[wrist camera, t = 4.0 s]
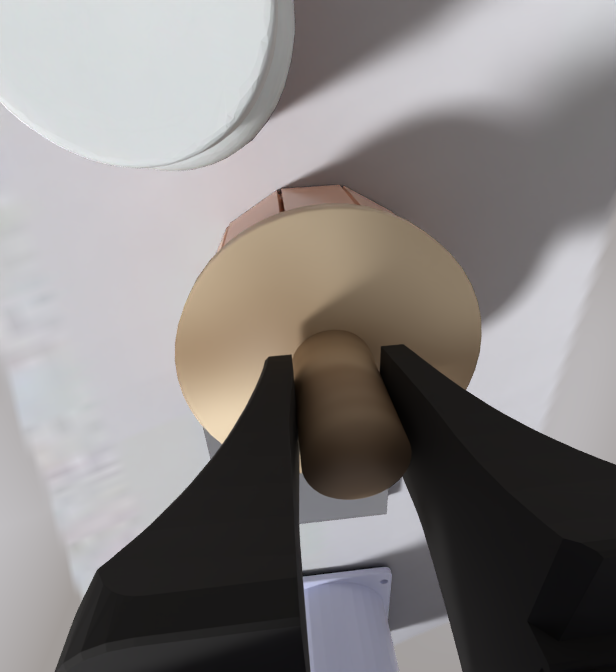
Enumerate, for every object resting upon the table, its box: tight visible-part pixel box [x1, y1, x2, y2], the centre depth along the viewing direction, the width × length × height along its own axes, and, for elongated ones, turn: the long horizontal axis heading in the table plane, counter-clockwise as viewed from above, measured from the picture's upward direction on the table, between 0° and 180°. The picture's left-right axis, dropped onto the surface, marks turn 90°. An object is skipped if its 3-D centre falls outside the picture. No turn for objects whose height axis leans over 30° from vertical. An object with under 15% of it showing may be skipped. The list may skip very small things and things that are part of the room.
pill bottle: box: [0, 0, 295, 171], centre depth 8 cm, size 5×5×8 cm
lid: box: [175, 203, 481, 500], centre depth 11 cm, size 9×9×5 cm
